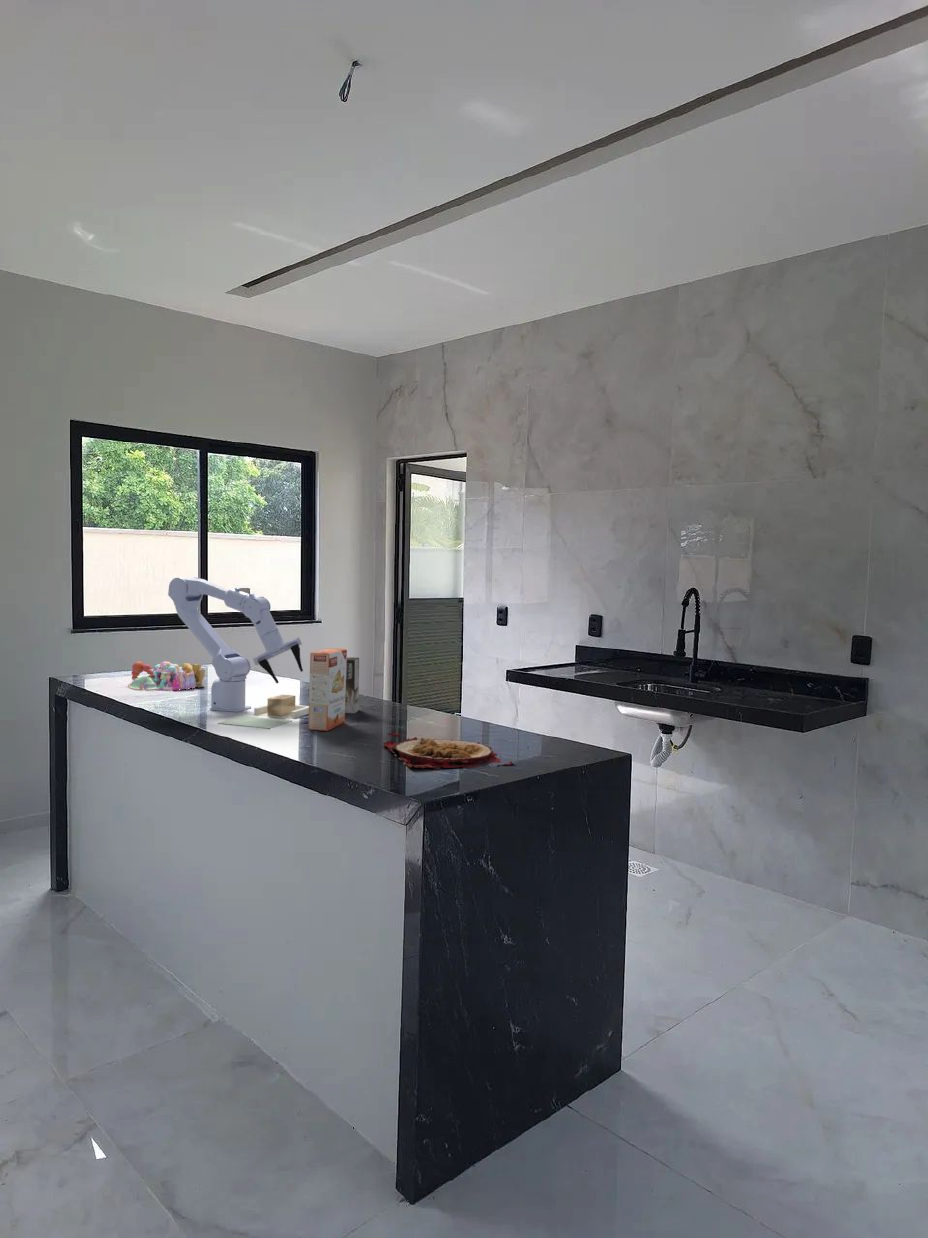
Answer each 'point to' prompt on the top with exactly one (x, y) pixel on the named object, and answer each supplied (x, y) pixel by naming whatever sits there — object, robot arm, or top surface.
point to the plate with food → (441, 753)
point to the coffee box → (352, 685)
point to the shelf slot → (294, 714)
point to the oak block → (281, 705)
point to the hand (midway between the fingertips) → (289, 676)
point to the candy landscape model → (167, 676)
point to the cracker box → (327, 689)
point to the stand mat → (254, 722)
